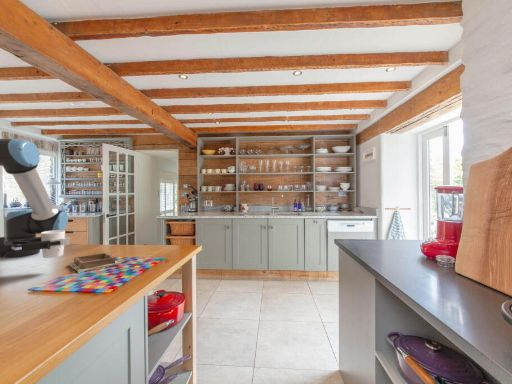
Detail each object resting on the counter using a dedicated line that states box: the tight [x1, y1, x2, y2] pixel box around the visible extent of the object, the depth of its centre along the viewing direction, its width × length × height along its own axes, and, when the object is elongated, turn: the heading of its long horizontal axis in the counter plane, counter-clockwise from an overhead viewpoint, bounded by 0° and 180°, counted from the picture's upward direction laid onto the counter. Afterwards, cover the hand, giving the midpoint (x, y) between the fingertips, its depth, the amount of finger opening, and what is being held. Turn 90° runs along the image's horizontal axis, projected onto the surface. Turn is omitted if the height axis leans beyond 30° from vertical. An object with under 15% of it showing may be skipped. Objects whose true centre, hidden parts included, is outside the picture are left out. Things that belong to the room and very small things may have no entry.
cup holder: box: [68, 252, 121, 273], centre depth 117 cm, size 16×16×4 cm
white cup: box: [40, 230, 66, 259], centre depth 106 cm, size 8×8×10 cm
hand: (67, 239), depth 110 cm, fingers closed on white cup, 8 cm apart
